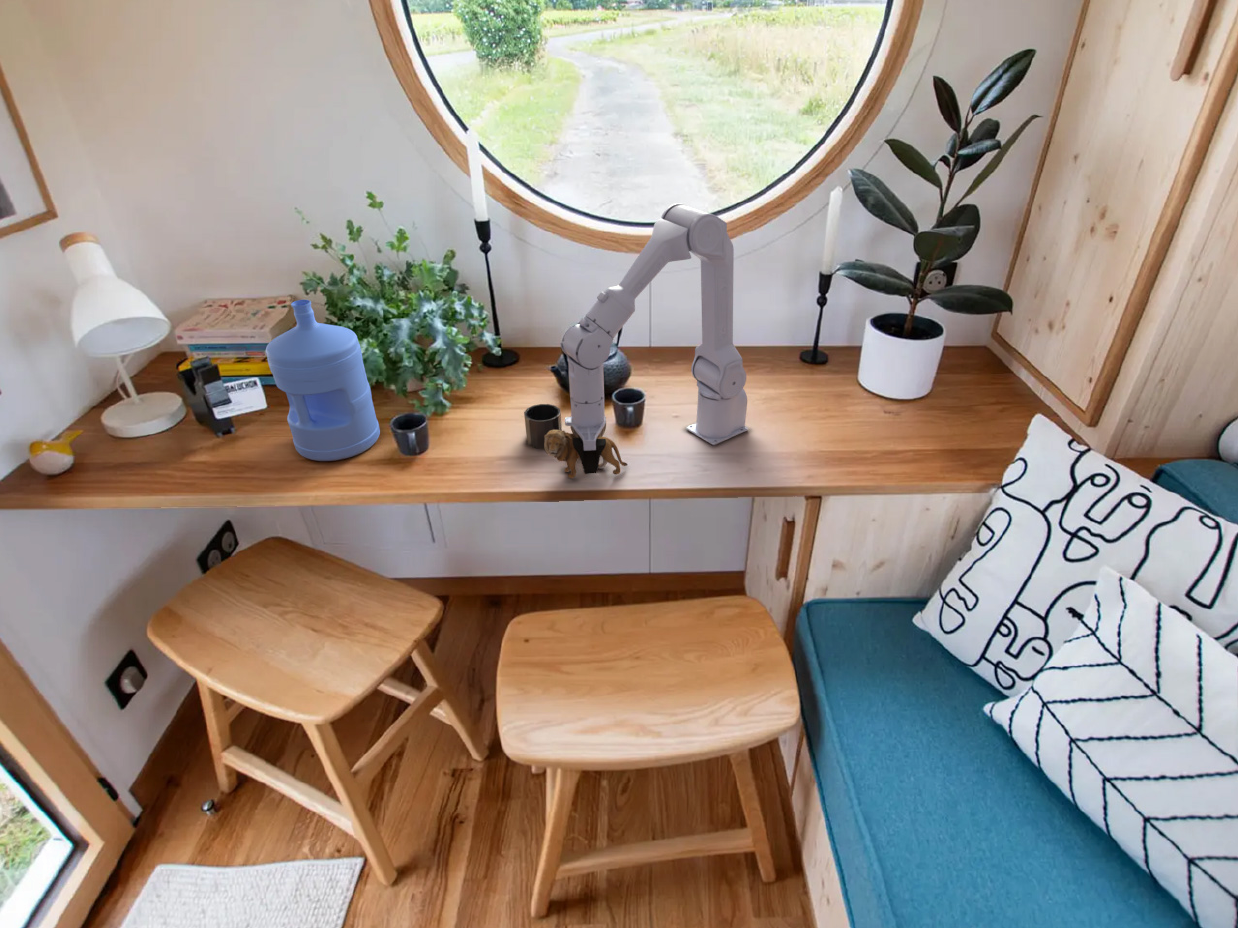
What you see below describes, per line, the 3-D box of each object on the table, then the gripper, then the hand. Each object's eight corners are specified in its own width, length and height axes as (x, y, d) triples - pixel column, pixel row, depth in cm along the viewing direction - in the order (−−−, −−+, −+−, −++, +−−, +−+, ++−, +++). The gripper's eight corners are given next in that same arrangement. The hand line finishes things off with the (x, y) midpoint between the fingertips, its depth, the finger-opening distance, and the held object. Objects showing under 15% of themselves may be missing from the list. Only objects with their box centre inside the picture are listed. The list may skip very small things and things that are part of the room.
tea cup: (549, 427, 137) (547, 400, 133) (569, 441, 132) (567, 414, 129) (520, 437, 133) (517, 410, 130) (538, 452, 129) (536, 425, 125)
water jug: (333, 416, 141) (296, 284, 126) (397, 428, 137) (367, 293, 121) (278, 454, 129) (229, 313, 114) (346, 469, 125) (305, 324, 109)
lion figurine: (549, 485, 119) (545, 437, 115) (544, 471, 123) (540, 425, 119) (631, 473, 121) (629, 426, 118) (623, 460, 126) (622, 415, 122)
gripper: (563, 377, 121) (567, 443, 128) (563, 418, 108) (567, 487, 116) (603, 376, 121) (605, 441, 128) (607, 416, 109) (609, 485, 116)
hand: (590, 463), depth 122 cm, fingers open, 5 cm apart
